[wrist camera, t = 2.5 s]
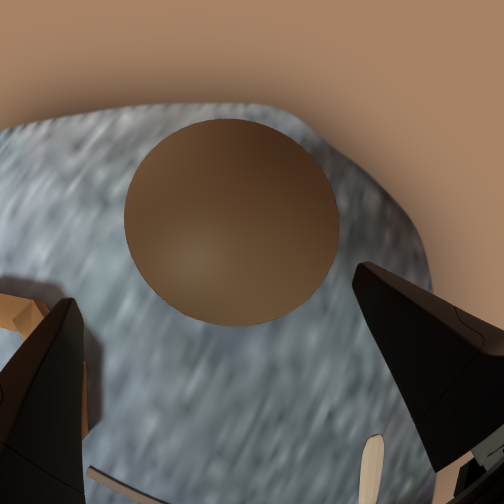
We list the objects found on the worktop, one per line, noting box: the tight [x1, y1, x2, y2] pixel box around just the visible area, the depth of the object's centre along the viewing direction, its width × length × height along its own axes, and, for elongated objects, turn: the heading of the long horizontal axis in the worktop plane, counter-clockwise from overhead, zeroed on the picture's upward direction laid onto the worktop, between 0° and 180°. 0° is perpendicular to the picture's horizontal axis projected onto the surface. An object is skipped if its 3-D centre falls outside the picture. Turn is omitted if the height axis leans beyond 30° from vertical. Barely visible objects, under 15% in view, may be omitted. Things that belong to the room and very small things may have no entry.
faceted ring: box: [0, 293, 89, 440], centre depth 13 cm, size 11×11×2 cm
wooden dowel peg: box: [124, 119, 339, 326], centre depth 12 cm, size 4×4×12 cm
